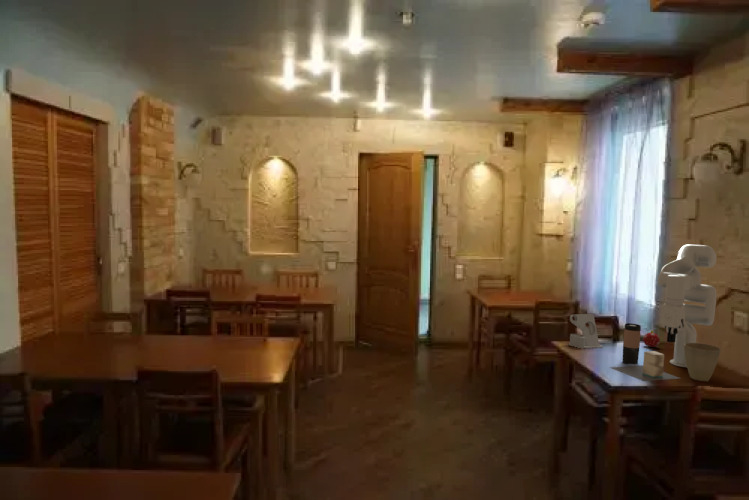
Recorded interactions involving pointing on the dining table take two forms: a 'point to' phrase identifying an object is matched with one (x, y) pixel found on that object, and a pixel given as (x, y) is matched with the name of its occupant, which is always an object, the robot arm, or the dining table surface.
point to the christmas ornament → (651, 339)
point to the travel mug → (631, 343)
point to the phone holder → (584, 332)
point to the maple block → (653, 364)
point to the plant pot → (701, 360)
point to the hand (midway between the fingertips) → (671, 342)
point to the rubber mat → (641, 373)
